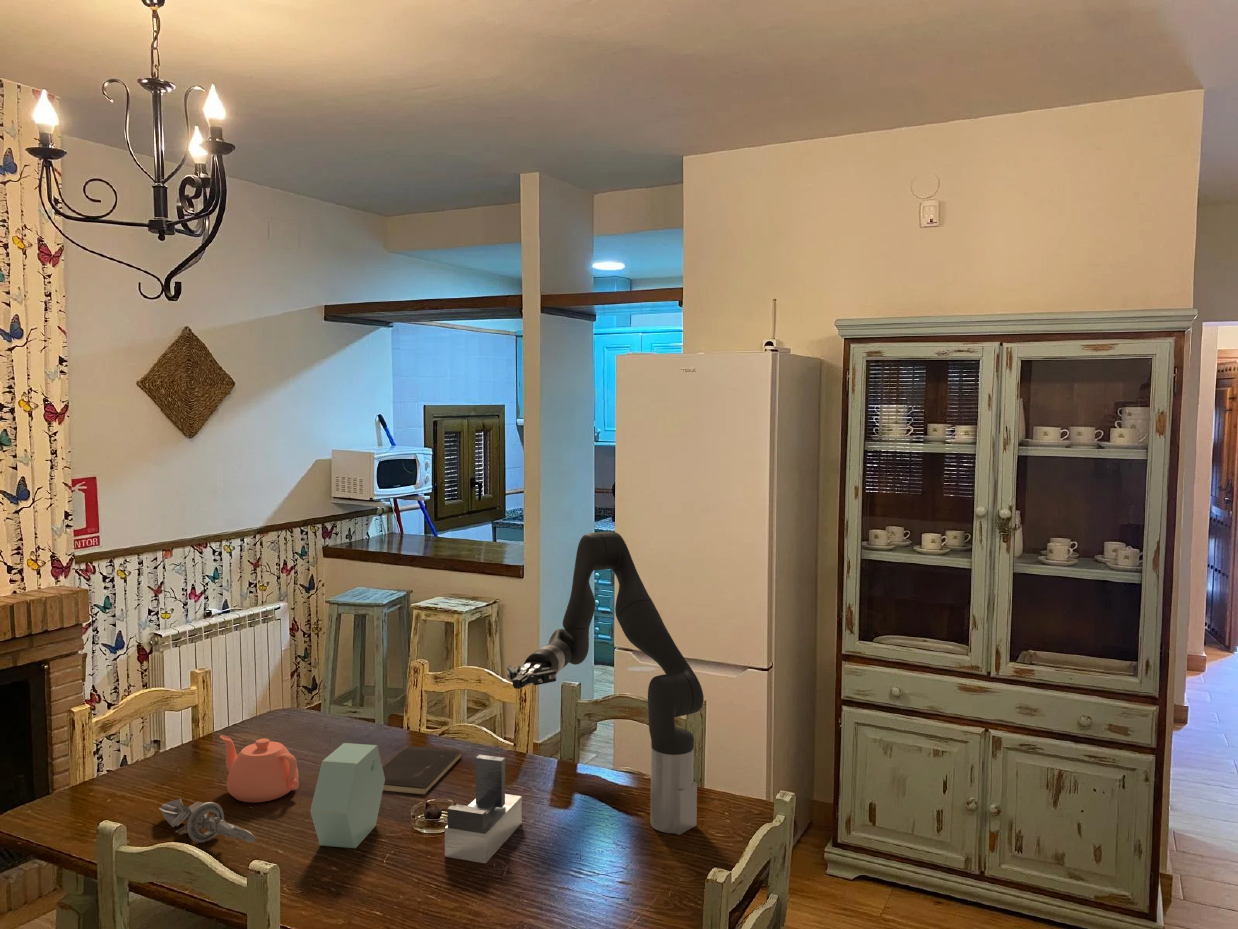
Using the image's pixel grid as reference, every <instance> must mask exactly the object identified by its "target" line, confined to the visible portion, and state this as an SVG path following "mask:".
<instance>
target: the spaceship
mask: <svg viewBox="0 0 1238 929" xmlns="http://www.w3.org/2000/svg"><path fill="white" fill-rule="evenodd" d="M158 809H159V810H160V811H161V815H162V816H163V818H164V819H165V821H166V822H167V823H168V824H169V825H170V826H171V827H172V828H175V827H179V826H180V825H181V824H182V823H183V822H187V823H186V824H185V825H183V826H182V827H180V828H179V829H177V830H175V833H178V834H181V835H184V834H185V833H187V834H188V837H189V838H190V839H191V841H193V842H195V843H200V844H202V842H204V843H206V842H205V841H207V840H209V839H211V838H213V839H214V838H215V837H216V836H218V835H222V837H224V838H227V837H231V838H235V839H238V840H239V839H240V840H243V841H245V842H247V843H255V842H256V837H255V836H256V835H254V834H253V833H251V832H250V831H249V830H246V829H245V828H241V827H239V826H238V825H236V824H232V823H229V822H227V821H226V820H225V814H224V810H223V808H222V806H221V805H220V804H218V803H216V802H213V801H209V802H203V801H201V802H200V801H199V800H198V801H196V802H195V803H193V804H191V805H190V806H188V805H187V804H186V805H185V804H183V801H182V799H181V798H178V799H174V800H170V801H168V802H165V803H163V804H161V807H158ZM211 813H212V814H213V815H211ZM210 815H211V816H210ZM206 830H207V831H206ZM201 831H202V832H201ZM211 840H212V839H211ZM209 841H210V840H209ZM207 842H208V841H207Z"/></svg>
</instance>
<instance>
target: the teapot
mask: <svg viewBox="0 0 1238 929" xmlns="http://www.w3.org/2000/svg"><path fill="white" fill-rule="evenodd" d="M219 737H220V739H221V740H222V742H223V744H224V745H225V766H226V770H227V772H228V775H227V778H226V790H227V792H228V793H229V794H230V796H231V797H233V798H234V799H236V800H237V801H240V802H243V803H256V804H257V803H265V802H270V801H273V800H277V799H279V798H282V797H284V796H285V795H288V793H290V792H291V791H296V790H297V789H298V788H299V787H300V781H299V778H300V777H299V769H298V765H297V764H298V763H297V762H298V761H297V759H296V757H295V756H294V755H293V754H291V753H290V751H289V750H288V749H287V747H286V746H285V745H284V744H282V743H281V742H277V741H271V740H270V739H269V738H259V739H256V740H255V742H254V743H251V744H249V745H246V746H245V747H244V748H242V749H240V750H241V751H240V752H239V753H238V754H237V751H236V747H235V744H234V741H233V740H232V739H231V738H230V737H228V736H226V735H224V734H223V735H219Z"/></svg>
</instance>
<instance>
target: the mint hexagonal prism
mask: <svg viewBox="0 0 1238 929" xmlns="http://www.w3.org/2000/svg"><path fill="white" fill-rule="evenodd" d="M380 755H381V754H380V750H379V747H378V744H365V743H364V744H363V743H349V742H343V743H342V744H340V745H339V747H337V748H336V749H335V750H334V751H332V752H330V754H329V755H328V756H326V757H325V758H324V759H323V760H322V761H321V765H320V768H319V773H318V777H317V781H316V785H315V789H314V793H313V799H312V802H311V806H310V810H309V812H310V815H311V819H312V822H313V825H314V830H315V833H316V837H317V839H318V844H319V845H320V846H324V847H336V848H346V849H347V848H348V849H357V847H358V846H359V845H360V844H361V843H362V842H363V841H364V840H365V839H366V837H367V836H369V834H370V833H371V832H372V831H373V829H374V828H375V827H376V825H377V821H378V816H379V811H380V807H381V802H382V796H383V791H384V790H383V788H384V783H385V776H384V772H383V768H382V766H383V764H382V761H381V760H382V759H381V756H380Z"/></svg>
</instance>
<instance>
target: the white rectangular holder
mask: <svg viewBox="0 0 1238 929" xmlns="http://www.w3.org/2000/svg"><path fill="white" fill-rule="evenodd" d="M522 800H523V799H522V796H521V795H516V794H510V793H509V794H508V793H505V805H504V806H503V807H502V808H501V807H495V808H494V809H493V810H492V811H491V809H484V808H478V807H473V806H474V805H475V804H476V798H475V799H474V800H473V801H471V802H470V803H469V804H468V805H463V804H455V805H449V806H448V807H447V811H446V813H447V814H446V815H447V820H446V821H447V823H446V824H447V825H446V826H445V827H444V857H447V858H451V859H456V860H457V859H458V860H463V861H469V862H476V863H480V864H486V863H488V862H489V860H490V859H492V857H493V856H494V855H495V854H496V853H497V852H498V850H499V849H500V848H501V847H502V846H503V844H504V843H506V841H507V840H508V839H509V838H510V837H511V836H512V835H513V834H514V832H515V831H516V830H517V829H518V828H519V827H520V826H521V825H522V822H523V821H522V816H523V815H522V810H523V809H522V808H523V807H522V806H523V805H522V804H523V803H522Z"/></svg>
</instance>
